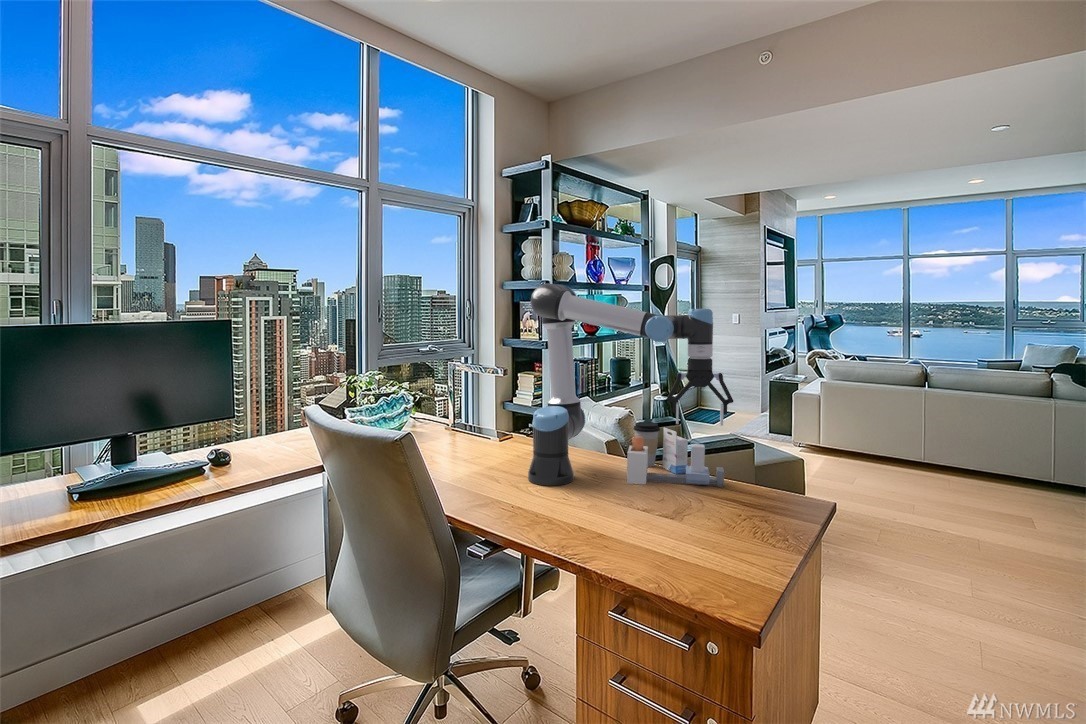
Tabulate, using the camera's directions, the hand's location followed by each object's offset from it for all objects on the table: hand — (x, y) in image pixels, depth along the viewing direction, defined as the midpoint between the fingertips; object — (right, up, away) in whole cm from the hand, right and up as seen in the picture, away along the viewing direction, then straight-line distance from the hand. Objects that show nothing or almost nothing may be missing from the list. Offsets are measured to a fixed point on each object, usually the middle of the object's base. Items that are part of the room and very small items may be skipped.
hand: (699, 424), depth 172 cm
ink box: (-4, -18, +16) cm, 25 cm away
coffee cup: (-12, -18, +23) cm, 32 cm away
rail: (-5, -19, +3) cm, 20 cm away
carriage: (0, -19, +2) cm, 19 cm away
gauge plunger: (-19, -9, +5) cm, 21 cm away
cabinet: (-19, -19, +6) cm, 27 cm away
